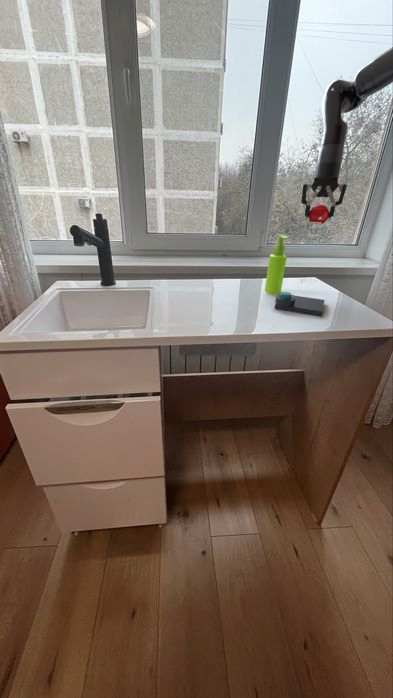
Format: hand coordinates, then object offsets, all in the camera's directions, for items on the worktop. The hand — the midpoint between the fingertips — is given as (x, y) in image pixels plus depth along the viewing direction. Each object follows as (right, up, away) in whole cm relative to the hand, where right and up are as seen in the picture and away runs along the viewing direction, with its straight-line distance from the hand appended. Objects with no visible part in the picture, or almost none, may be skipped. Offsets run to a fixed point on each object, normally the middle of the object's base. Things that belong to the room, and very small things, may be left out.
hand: (318, 217), depth 101 cm
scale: (-9, -33, -8) cm, 35 cm away
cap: (0, -2, +1) cm, 2 cm away
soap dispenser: (-15, -25, +6) cm, 30 cm away
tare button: (-15, -31, -11) cm, 36 cm away
